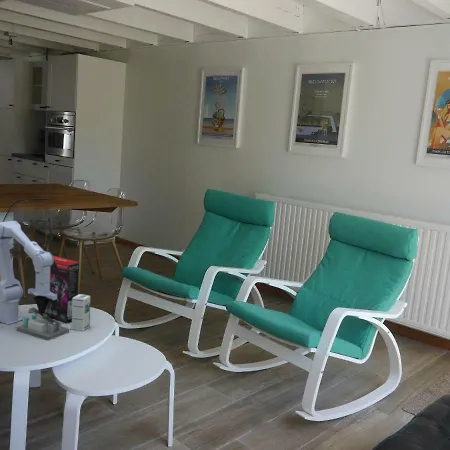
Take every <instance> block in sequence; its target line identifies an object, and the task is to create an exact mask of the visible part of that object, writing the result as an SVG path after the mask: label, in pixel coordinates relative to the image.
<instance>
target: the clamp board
mask: <svg viewBox="0 0 450 450" xmlns="http://www.w3.org/2000/svg"><path fill="white" fill-rule="evenodd" d="M55 321H56V320H55ZM56 322H58V325H55V326H54V325H52V324H49V323H48V322H46V321H44V320H43V319H41V318H40V317H38V316H37V315H35V314H31V320H30V319H29V317H23V324H21V325H18V326H16V327H15V328H16V329H15V330H16V331H17V332H20V333H24V334H26V335H31V336H32V337H36V338H39V339H43V340H46V341H50V340H53V339H56V338H58V337H60V336H64V335H65V334H68V333H70V328H68V327H64V326H62V323H63V321H60V320H57V321H56Z"/></svg>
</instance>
